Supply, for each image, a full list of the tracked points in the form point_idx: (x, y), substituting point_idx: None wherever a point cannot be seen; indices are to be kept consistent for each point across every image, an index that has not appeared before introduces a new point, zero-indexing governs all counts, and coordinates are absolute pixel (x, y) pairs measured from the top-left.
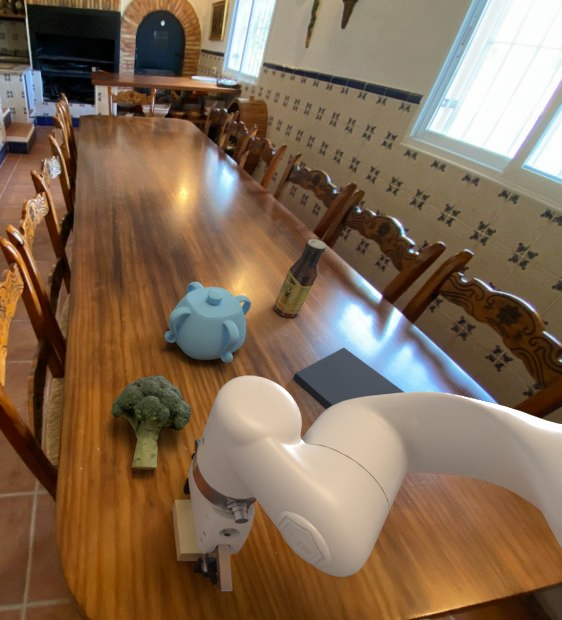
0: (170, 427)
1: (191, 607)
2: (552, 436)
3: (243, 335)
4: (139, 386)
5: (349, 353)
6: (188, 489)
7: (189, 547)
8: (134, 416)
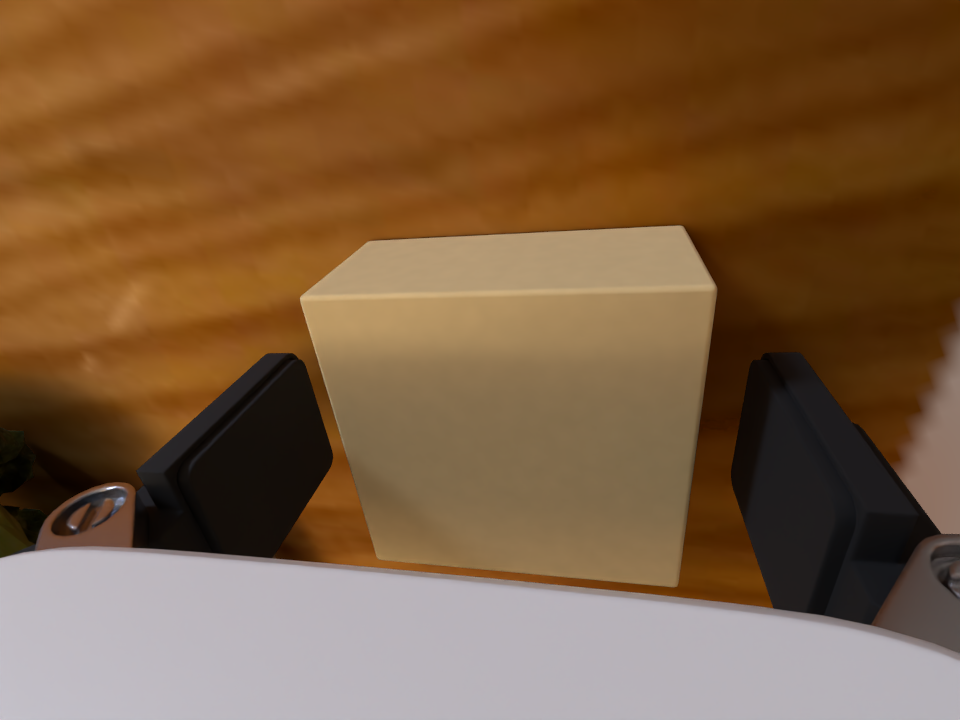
0: (10, 454)
1: (888, 449)
2: None
3: None
4: None
5: None
6: (297, 499)
7: (648, 546)
8: None
